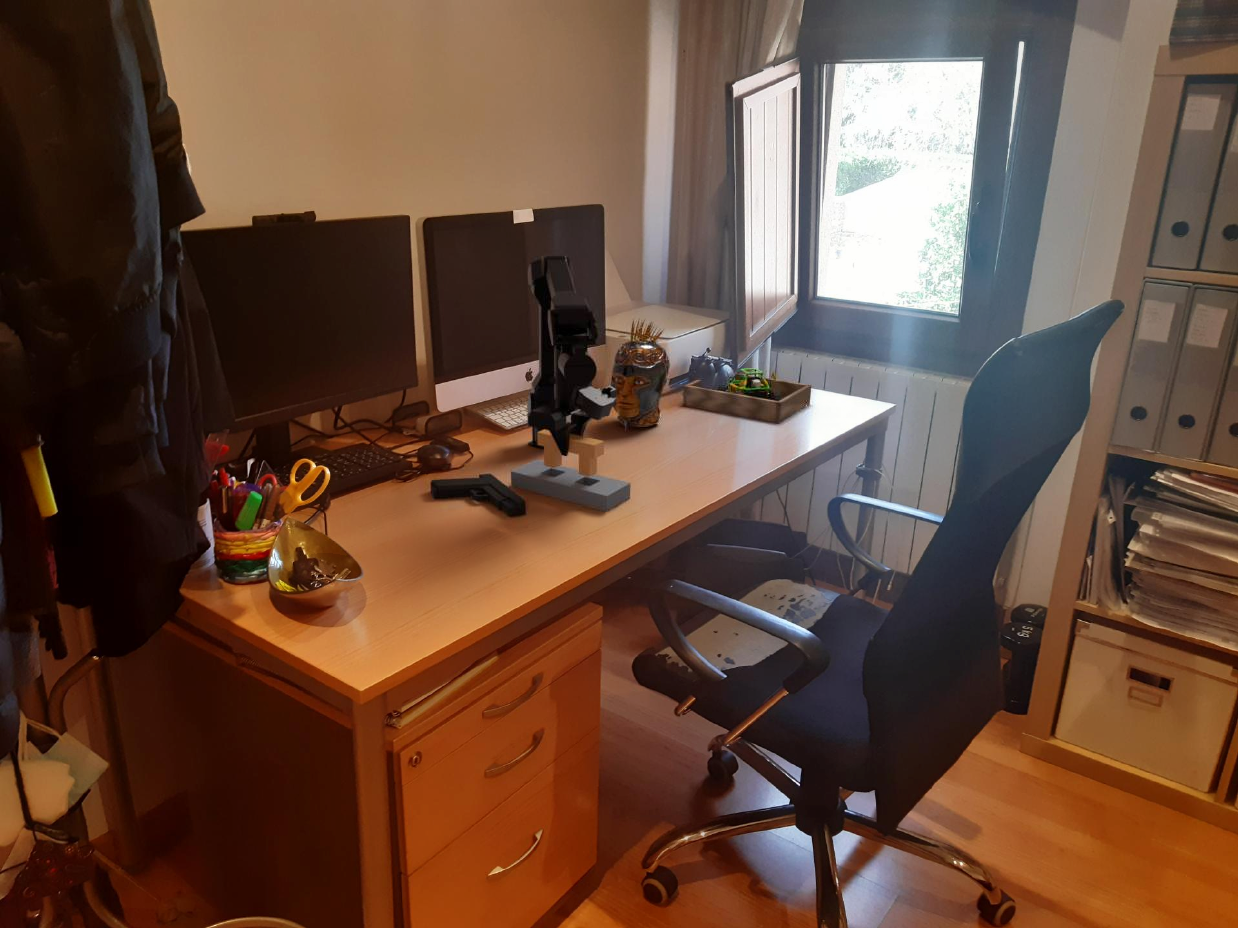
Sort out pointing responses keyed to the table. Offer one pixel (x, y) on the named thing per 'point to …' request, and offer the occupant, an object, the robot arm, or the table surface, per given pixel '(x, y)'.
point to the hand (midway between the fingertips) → (569, 453)
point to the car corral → (750, 400)
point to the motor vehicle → (752, 386)
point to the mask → (639, 378)
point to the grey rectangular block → (571, 485)
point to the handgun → (481, 492)
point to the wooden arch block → (572, 451)
